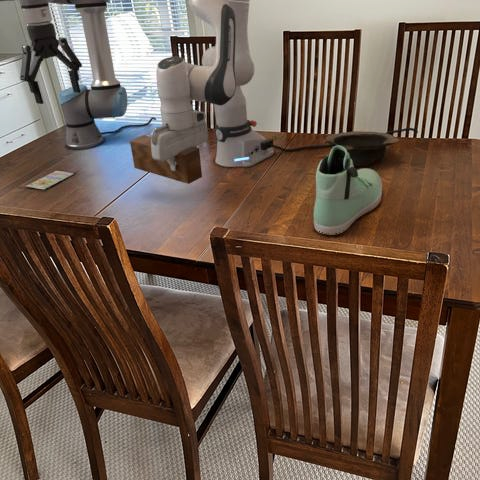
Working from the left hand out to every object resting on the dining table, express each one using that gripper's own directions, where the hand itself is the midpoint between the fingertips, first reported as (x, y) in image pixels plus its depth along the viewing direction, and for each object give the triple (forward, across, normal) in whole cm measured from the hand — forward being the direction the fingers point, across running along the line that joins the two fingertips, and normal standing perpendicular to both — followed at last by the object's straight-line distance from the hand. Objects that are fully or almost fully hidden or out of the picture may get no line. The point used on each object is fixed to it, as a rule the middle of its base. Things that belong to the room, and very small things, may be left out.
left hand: (59, 97), depth 150 cm
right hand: (+18, +8, -42) cm, 46 cm away
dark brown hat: (+31, +66, -71) cm, 102 cm away
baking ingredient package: (+31, -2, +15) cm, 34 cm away
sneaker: (+31, +30, -85) cm, 95 cm away
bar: (+21, +8, -35) cm, 42 cm away
